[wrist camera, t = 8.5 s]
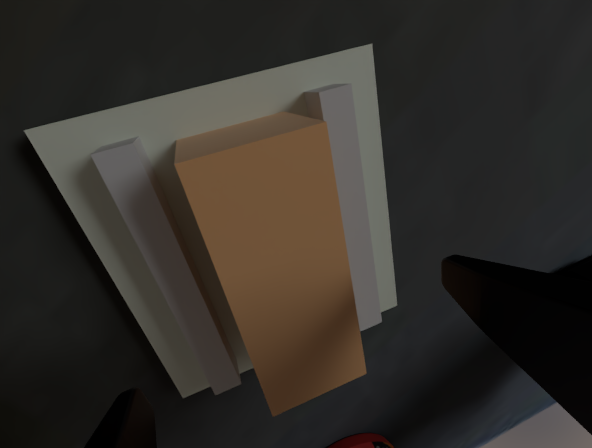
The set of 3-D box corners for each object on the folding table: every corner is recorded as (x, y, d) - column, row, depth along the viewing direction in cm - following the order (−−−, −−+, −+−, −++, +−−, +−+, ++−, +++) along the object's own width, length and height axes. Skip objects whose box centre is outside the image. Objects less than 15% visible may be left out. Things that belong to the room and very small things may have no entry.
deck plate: (387, 295, 19) (414, 322, 17) (183, 381, 16) (183, 426, 14) (359, 46, 13) (395, 38, 11) (36, 126, 11) (-1, 137, 8)
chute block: (327, 312, 16) (366, 373, 13) (252, 342, 16) (272, 416, 12) (283, 111, 12) (326, 121, 8) (176, 140, 11) (174, 164, 8)
